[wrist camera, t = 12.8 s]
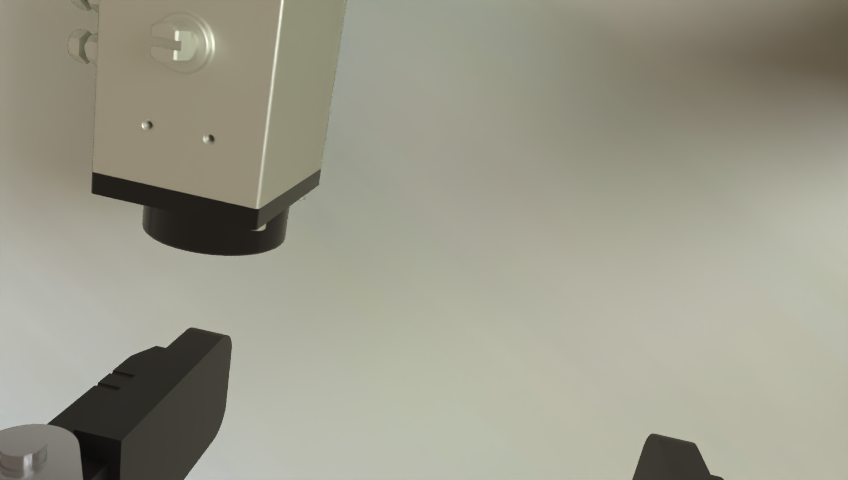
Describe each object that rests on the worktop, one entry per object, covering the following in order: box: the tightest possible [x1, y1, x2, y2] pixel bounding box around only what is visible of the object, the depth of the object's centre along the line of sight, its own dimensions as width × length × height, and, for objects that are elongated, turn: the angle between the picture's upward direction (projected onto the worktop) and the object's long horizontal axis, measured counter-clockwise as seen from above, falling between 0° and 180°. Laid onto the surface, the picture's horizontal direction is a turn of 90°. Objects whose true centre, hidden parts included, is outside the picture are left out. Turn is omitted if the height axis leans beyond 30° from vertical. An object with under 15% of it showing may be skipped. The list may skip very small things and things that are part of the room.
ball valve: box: [68, 0, 346, 256], centre depth 31 cm, size 18×8×18 cm, turn 169°
